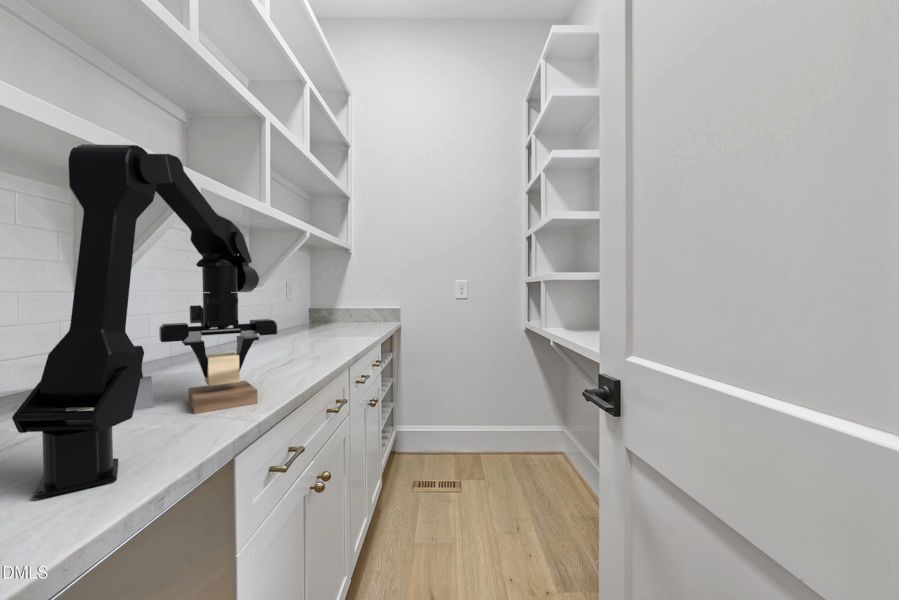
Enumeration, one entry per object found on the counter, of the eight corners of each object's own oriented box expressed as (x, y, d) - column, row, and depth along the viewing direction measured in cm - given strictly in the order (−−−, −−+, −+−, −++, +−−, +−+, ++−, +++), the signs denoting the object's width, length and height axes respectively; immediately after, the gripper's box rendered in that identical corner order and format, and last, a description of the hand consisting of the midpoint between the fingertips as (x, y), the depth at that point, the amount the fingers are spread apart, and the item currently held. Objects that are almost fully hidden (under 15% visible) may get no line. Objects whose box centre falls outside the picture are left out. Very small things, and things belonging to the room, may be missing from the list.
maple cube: (239, 382, 75) (239, 355, 75) (208, 386, 72) (208, 358, 72) (234, 377, 79) (233, 352, 79) (204, 381, 76) (204, 355, 76)
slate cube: (152, 408, 73) (152, 380, 72) (117, 413, 70) (116, 384, 69) (151, 402, 77) (151, 376, 76) (117, 406, 73) (117, 379, 73)
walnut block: (257, 406, 75) (257, 390, 75) (194, 416, 69) (194, 399, 69) (246, 395, 83) (245, 380, 83) (188, 403, 76) (188, 388, 76)
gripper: (262, 292, 87) (263, 363, 88) (156, 292, 76) (158, 374, 76) (277, 292, 78) (278, 371, 79) (160, 293, 67) (162, 385, 67)
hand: (222, 375), depth 75 cm, fingers closed on maple cube, 5 cm apart
